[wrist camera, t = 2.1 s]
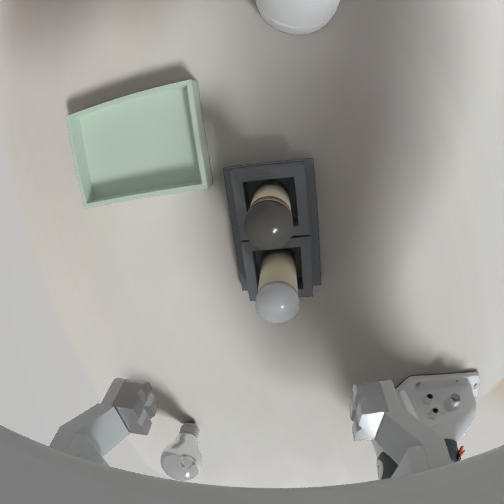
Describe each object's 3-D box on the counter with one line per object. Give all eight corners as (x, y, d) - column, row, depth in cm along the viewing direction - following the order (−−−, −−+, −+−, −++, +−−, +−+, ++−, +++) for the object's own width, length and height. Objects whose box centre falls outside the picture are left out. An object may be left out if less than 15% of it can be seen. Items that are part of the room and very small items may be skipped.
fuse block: (312, 158, 31) (315, 163, 28) (320, 280, 37) (323, 296, 34) (224, 167, 32) (218, 173, 29) (243, 286, 38) (240, 302, 35)
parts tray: (197, 81, 29) (191, 79, 27) (213, 183, 33) (207, 188, 31) (78, 115, 31) (66, 116, 29) (95, 202, 35) (84, 208, 33)
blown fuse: (288, 178, 31) (290, 201, 23) (291, 213, 33) (295, 247, 25) (251, 181, 32) (240, 205, 24) (256, 216, 33) (247, 251, 25)
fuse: (294, 242, 34) (298, 285, 26) (296, 273, 36) (300, 321, 27) (259, 245, 35) (252, 288, 26) (263, 276, 36) (258, 324, 28)
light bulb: (165, 418, 51) (147, 471, 40) (190, 408, 49) (173, 465, 38) (193, 437, 53) (180, 489, 42) (218, 428, 50) (207, 484, 40)
